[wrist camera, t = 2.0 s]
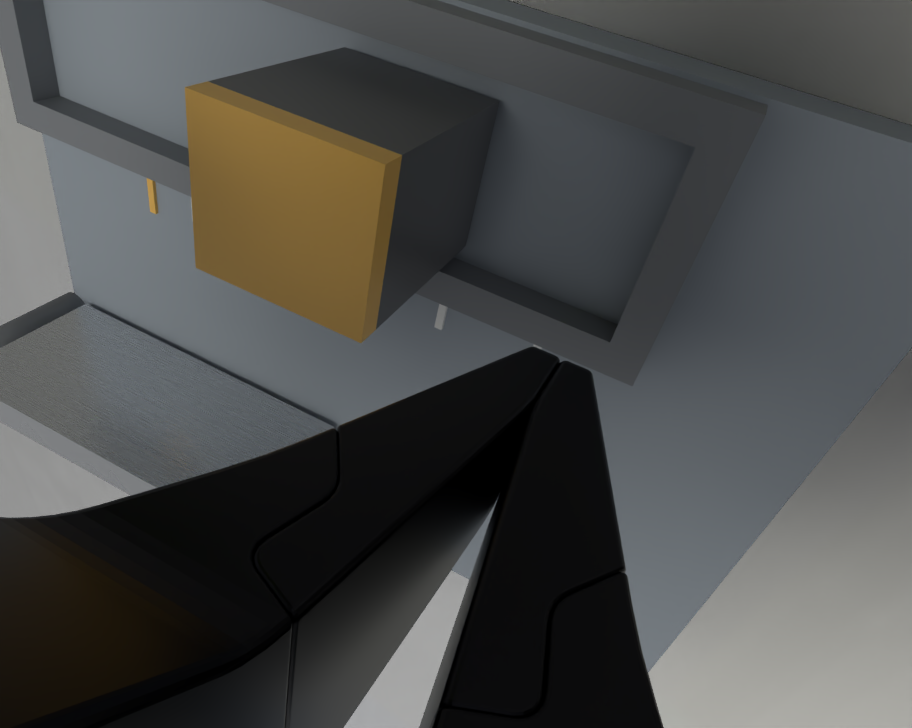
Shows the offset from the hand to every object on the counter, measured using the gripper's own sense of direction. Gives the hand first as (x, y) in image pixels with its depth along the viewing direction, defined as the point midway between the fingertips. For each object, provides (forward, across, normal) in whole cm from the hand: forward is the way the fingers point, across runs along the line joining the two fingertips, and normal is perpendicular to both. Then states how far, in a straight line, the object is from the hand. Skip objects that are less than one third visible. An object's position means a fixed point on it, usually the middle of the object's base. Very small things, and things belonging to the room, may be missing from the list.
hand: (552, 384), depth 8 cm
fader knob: (+6, +5, 0) cm, 8 cm away
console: (+7, +6, +5) cm, 10 cm away
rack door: (+6, +11, +10) cm, 16 cm away
